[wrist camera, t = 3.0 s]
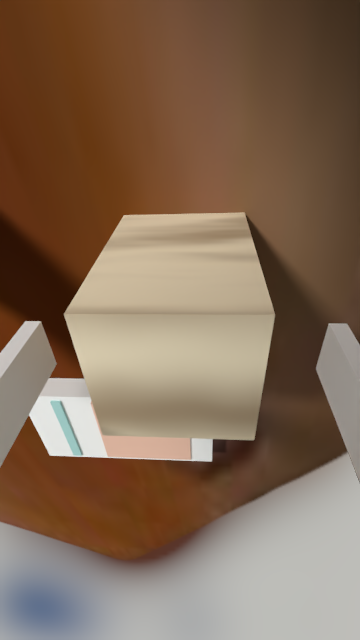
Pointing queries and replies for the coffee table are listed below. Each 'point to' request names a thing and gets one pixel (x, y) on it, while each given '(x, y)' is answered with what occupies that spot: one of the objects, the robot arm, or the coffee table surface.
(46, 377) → the robot arm
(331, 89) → the coffee table surface
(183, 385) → the beige box
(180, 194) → the coffee table surface
